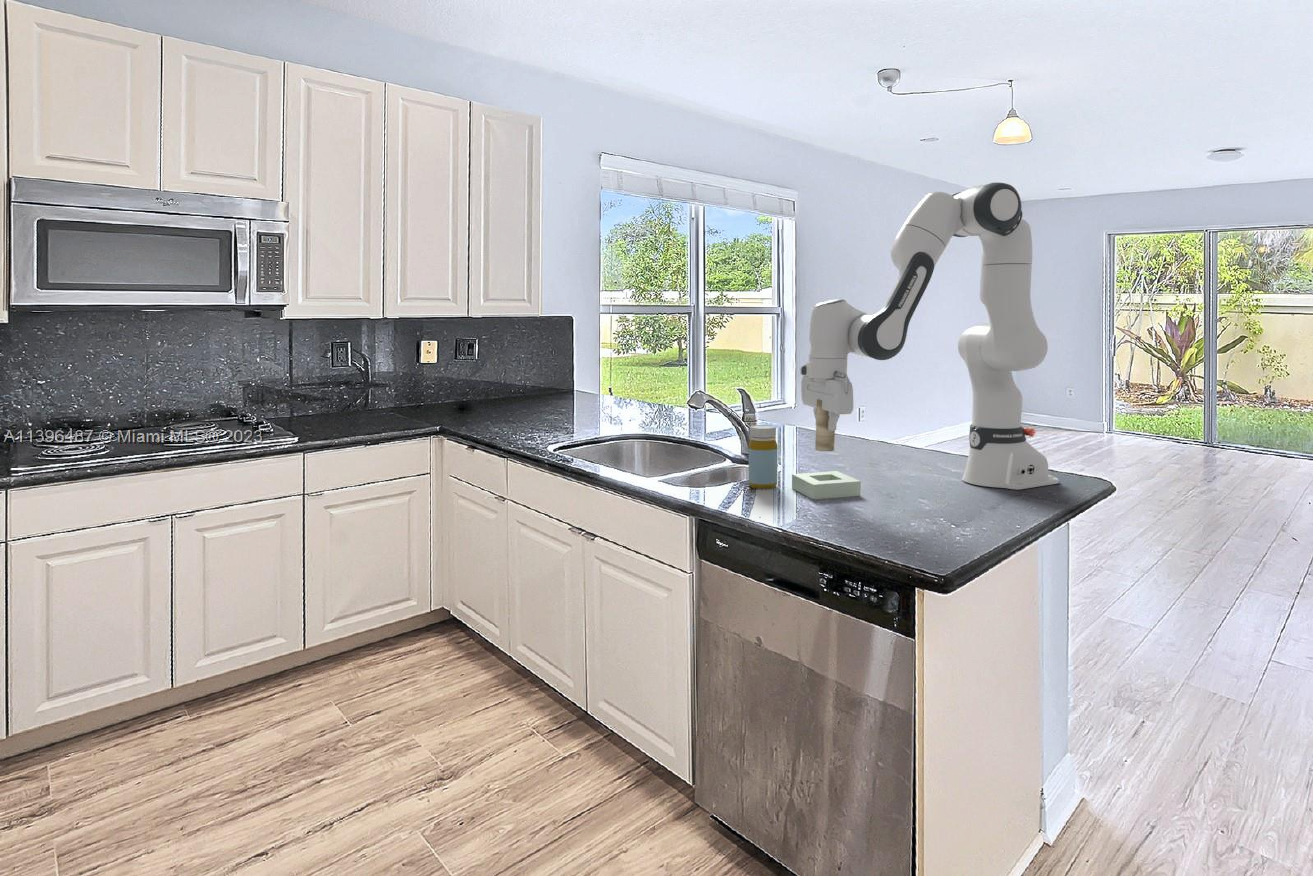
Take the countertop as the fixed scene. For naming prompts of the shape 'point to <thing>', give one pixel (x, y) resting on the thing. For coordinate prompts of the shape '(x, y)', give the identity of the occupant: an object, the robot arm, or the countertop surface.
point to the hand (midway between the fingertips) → (825, 428)
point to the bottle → (763, 457)
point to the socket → (826, 485)
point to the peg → (823, 430)
